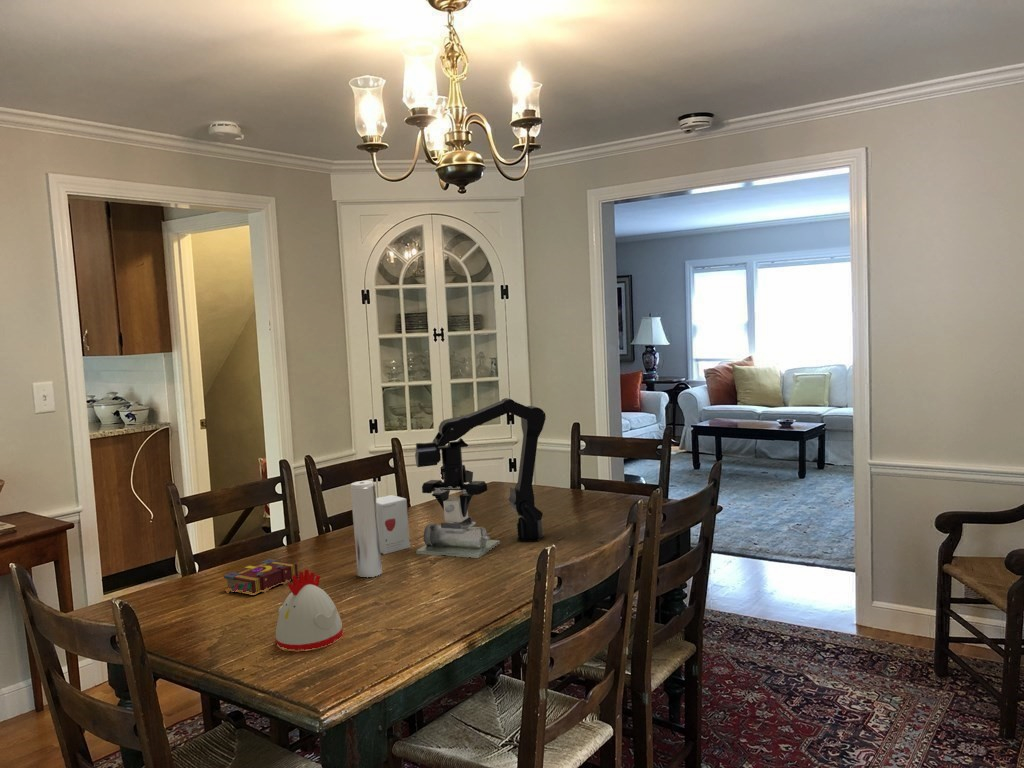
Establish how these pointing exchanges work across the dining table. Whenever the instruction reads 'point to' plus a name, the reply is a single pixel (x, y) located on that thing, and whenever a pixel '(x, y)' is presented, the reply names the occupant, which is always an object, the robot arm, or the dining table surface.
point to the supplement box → (392, 523)
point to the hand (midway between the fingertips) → (456, 516)
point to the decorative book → (261, 575)
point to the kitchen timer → (307, 616)
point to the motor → (456, 540)
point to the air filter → (366, 529)
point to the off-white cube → (453, 510)
